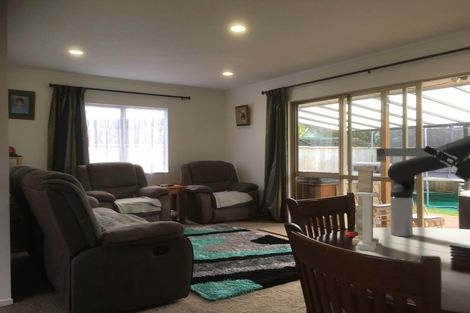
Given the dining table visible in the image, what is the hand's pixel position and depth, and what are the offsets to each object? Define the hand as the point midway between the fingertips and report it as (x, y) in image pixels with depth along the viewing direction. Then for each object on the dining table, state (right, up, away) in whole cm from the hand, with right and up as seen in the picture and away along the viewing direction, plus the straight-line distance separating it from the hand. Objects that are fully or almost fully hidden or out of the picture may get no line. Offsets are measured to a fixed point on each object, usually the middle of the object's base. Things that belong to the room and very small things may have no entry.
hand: (425, 148), depth 134 cm
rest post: (-18, -39, +10) cm, 44 cm away
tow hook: (-15, -39, +34) cm, 54 cm away
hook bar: (-5, -3, +3) cm, 6 cm away
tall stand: (-15, -39, +18) cm, 45 cm away
